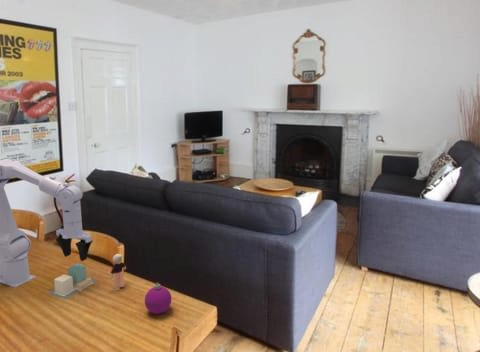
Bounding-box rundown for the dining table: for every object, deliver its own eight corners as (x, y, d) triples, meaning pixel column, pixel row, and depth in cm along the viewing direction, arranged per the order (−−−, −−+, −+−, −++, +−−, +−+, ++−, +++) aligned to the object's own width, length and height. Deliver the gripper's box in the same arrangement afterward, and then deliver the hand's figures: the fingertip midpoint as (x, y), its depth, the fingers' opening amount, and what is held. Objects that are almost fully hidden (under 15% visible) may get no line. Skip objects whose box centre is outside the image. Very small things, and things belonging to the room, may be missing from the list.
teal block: (69, 280, 128) (67, 267, 127) (78, 276, 132) (77, 263, 131) (77, 283, 127) (76, 270, 125) (86, 278, 130) (85, 265, 129)
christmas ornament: (139, 313, 114) (138, 283, 111) (159, 301, 120) (158, 273, 118) (157, 322, 109) (156, 292, 107) (177, 309, 116) (176, 281, 114)
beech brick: (63, 284, 129) (63, 280, 128) (75, 278, 133) (74, 274, 133) (80, 289, 126) (80, 285, 125) (91, 283, 130) (91, 279, 130)
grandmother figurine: (119, 293, 124) (117, 259, 121) (108, 292, 125) (106, 258, 122) (130, 282, 132) (128, 250, 129) (120, 281, 132) (118, 249, 130)
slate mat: (46, 293, 123) (46, 293, 123) (79, 275, 136) (79, 275, 136) (66, 300, 120) (65, 299, 120) (98, 281, 132) (98, 280, 132)
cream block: (55, 292, 123) (53, 279, 122) (65, 287, 127) (63, 274, 126) (63, 295, 122) (62, 282, 121) (73, 290, 125) (72, 276, 124)
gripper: (47, 221, 123) (50, 258, 126) (78, 227, 118) (81, 266, 121) (64, 215, 130) (67, 250, 133) (95, 221, 124) (98, 258, 127)
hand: (75, 257), depth 127 cm, fingers open, 7 cm apart
